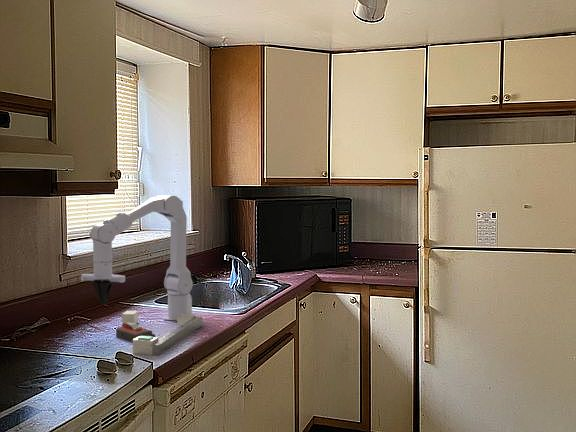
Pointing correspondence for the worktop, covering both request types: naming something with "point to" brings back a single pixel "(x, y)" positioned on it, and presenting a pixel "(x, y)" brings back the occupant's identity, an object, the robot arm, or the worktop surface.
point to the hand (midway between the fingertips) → (103, 303)
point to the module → (130, 317)
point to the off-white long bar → (167, 336)
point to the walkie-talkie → (132, 331)
